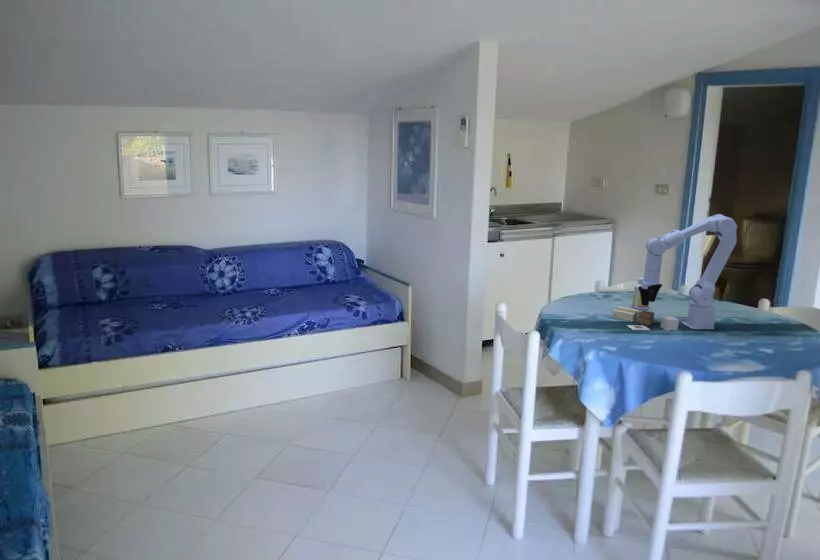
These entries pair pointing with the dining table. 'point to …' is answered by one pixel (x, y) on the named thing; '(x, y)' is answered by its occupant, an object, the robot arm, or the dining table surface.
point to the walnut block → (646, 317)
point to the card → (638, 327)
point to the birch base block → (626, 313)
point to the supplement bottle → (638, 297)
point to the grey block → (669, 323)
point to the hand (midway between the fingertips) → (648, 303)
